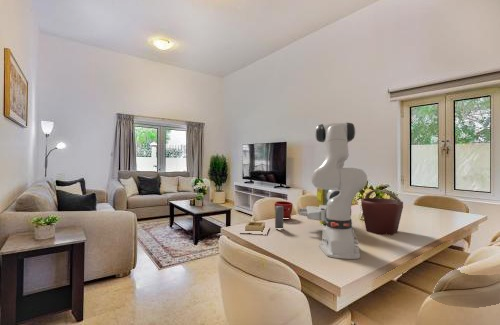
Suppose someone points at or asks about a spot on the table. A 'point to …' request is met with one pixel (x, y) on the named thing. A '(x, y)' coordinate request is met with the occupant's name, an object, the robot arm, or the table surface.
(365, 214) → the brown basket
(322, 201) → the book
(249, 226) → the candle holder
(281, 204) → the plant pot
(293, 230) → the table surface
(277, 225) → the grey cylinder
